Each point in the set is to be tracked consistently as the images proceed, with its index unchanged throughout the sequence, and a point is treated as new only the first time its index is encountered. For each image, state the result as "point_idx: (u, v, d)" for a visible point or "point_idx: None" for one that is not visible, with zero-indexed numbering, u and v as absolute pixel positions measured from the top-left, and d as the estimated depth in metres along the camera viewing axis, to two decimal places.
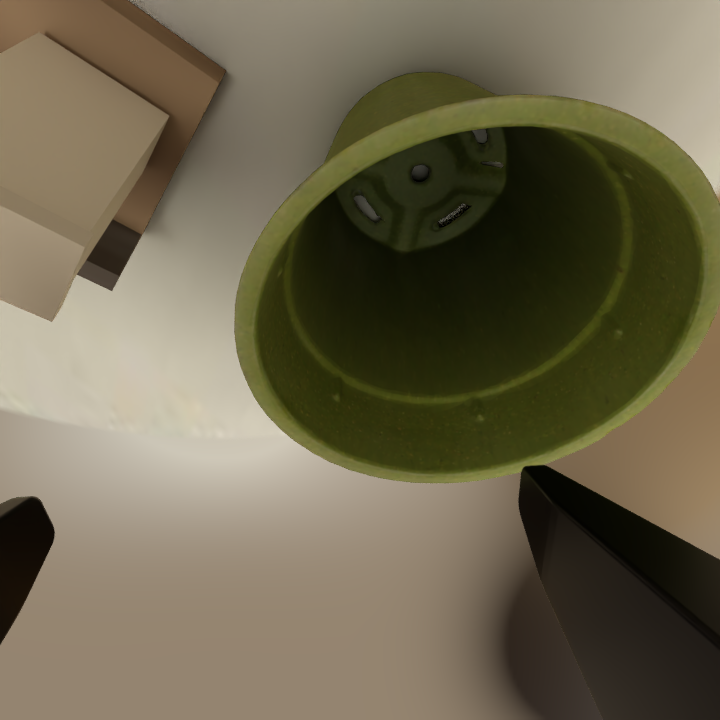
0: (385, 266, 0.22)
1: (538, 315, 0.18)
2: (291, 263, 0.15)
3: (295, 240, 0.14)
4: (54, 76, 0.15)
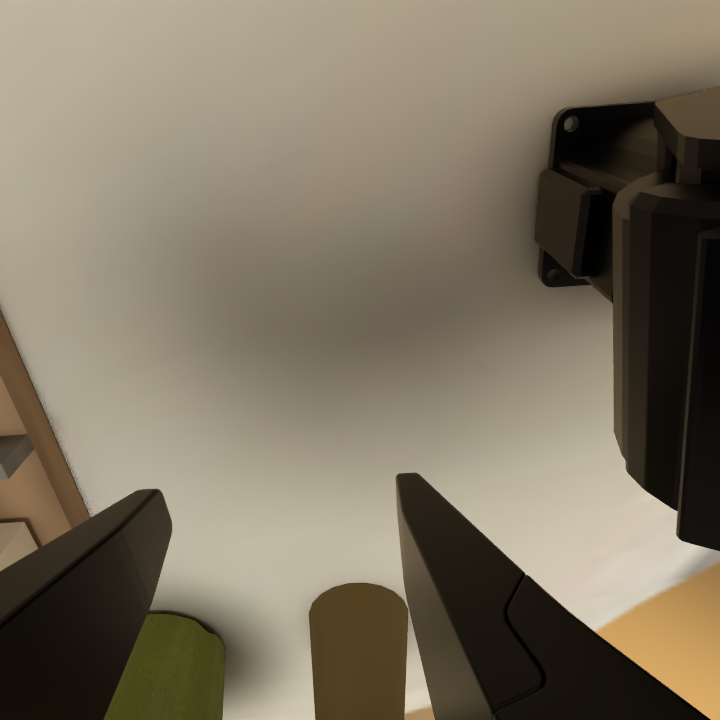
0: None
1: None
2: None
3: None
4: None
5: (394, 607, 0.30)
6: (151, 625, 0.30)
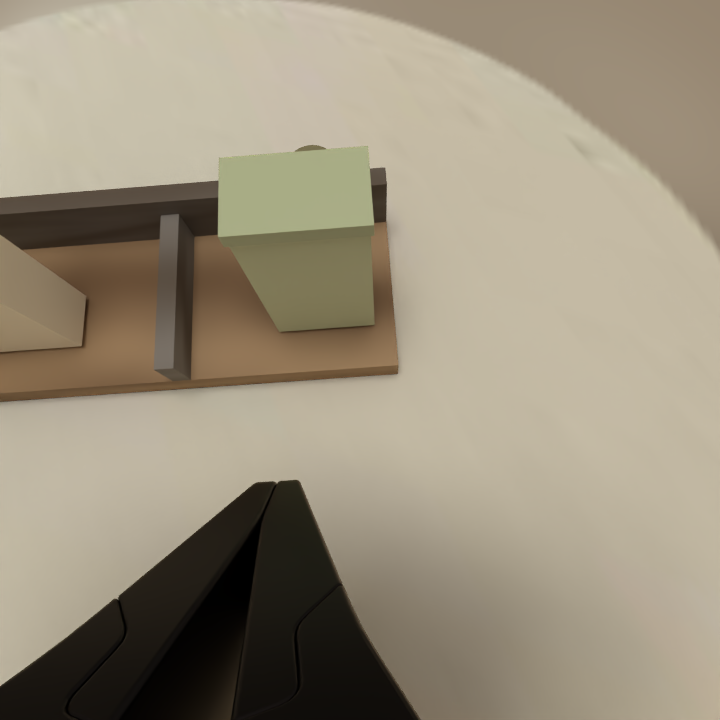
0: None
1: None
2: None
3: None
4: (24, 333, 0.21)
5: None
6: None
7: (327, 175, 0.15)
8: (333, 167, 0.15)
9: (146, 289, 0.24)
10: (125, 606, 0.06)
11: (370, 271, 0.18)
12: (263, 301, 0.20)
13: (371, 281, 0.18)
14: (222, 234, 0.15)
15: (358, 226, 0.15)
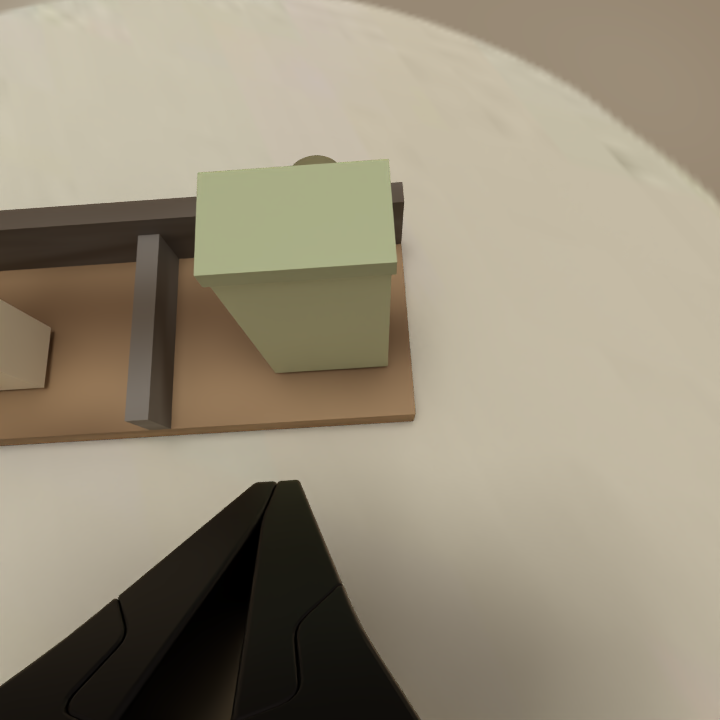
0: None
1: None
2: None
3: None
4: None
5: None
6: None
7: (336, 196, 0.12)
8: (344, 186, 0.12)
9: (122, 320, 0.21)
10: (125, 606, 0.06)
11: (387, 312, 0.14)
12: (255, 343, 0.16)
13: (387, 323, 0.15)
14: (199, 272, 0.11)
15: (376, 263, 0.11)
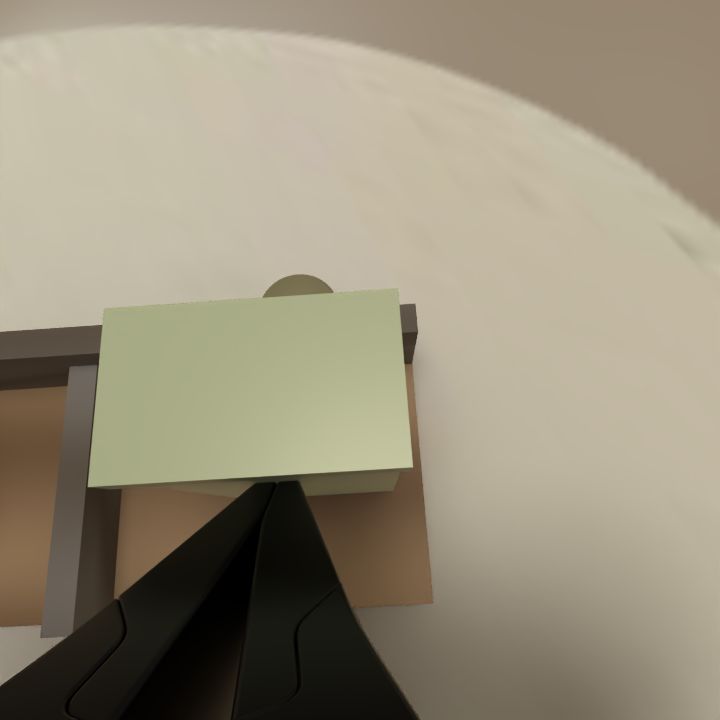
0: None
1: None
2: None
3: None
4: None
5: None
6: None
7: (317, 351, 0.08)
8: (329, 333, 0.08)
9: (54, 466, 0.16)
10: (125, 606, 0.06)
11: (394, 477, 0.10)
12: (215, 494, 0.12)
13: (394, 480, 0.11)
14: (97, 480, 0.07)
15: (380, 468, 0.07)
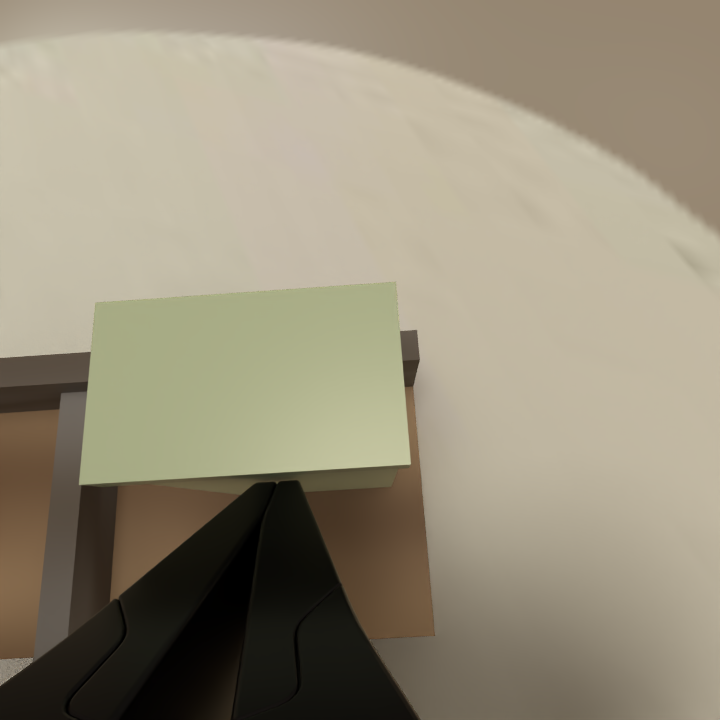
0: None
1: None
2: None
3: None
4: None
5: None
6: None
7: (313, 346, 0.07)
8: (325, 328, 0.07)
9: (46, 492, 0.16)
10: (125, 606, 0.06)
11: (392, 474, 0.10)
12: (211, 490, 0.12)
13: (392, 477, 0.11)
14: (89, 478, 0.07)
15: (377, 465, 0.07)
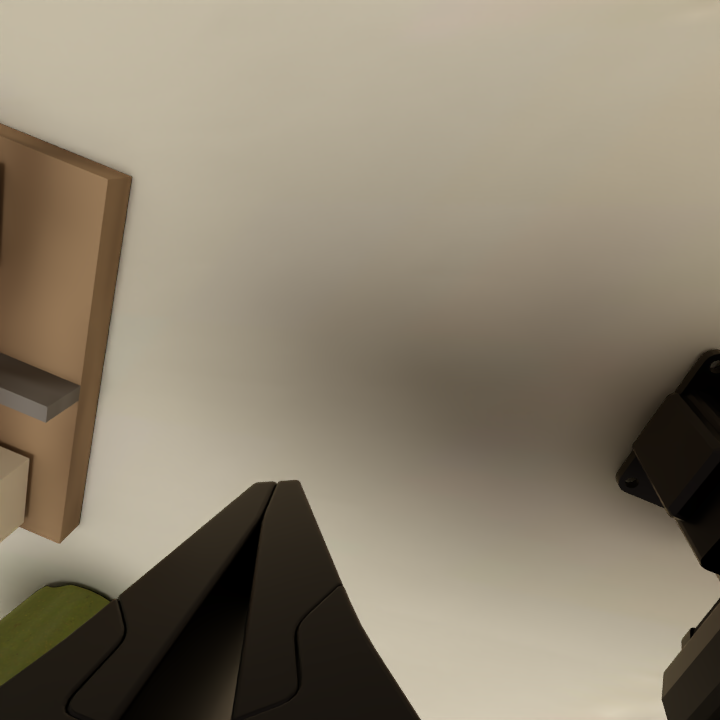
0: None
1: None
2: None
3: None
4: None
5: None
6: (84, 602, 0.29)
7: None
8: None
9: None
10: (125, 606, 0.06)
11: None
12: None
13: None
14: None
15: None
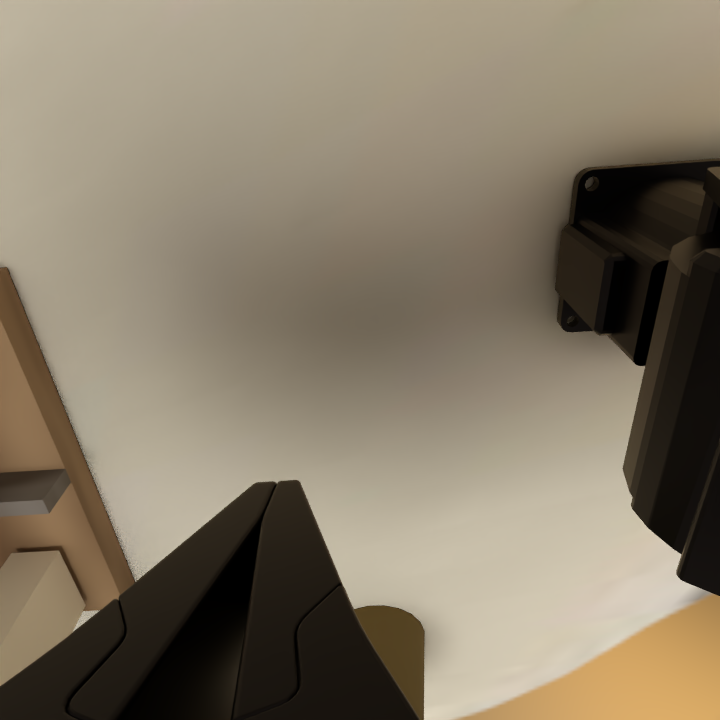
0: None
1: None
2: None
3: None
4: (46, 602, 0.25)
5: (412, 629, 0.31)
6: None
7: None
8: None
9: None
10: (125, 606, 0.06)
11: None
12: None
13: None
14: None
15: None
